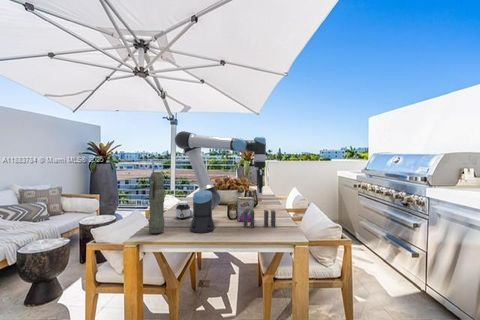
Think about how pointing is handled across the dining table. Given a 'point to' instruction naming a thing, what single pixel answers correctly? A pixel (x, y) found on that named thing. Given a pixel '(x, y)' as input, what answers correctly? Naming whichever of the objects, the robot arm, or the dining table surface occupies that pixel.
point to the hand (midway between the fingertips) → (259, 197)
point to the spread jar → (183, 210)
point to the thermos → (156, 203)
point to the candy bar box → (244, 207)
